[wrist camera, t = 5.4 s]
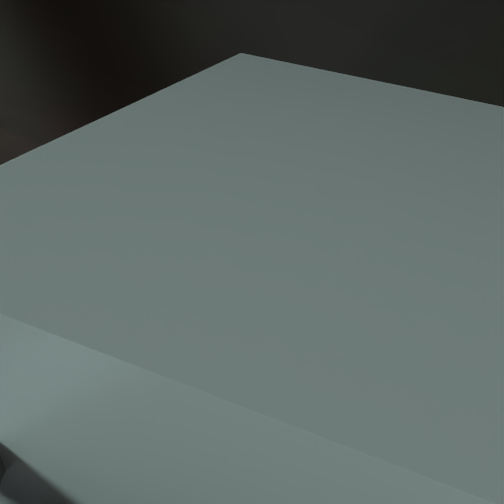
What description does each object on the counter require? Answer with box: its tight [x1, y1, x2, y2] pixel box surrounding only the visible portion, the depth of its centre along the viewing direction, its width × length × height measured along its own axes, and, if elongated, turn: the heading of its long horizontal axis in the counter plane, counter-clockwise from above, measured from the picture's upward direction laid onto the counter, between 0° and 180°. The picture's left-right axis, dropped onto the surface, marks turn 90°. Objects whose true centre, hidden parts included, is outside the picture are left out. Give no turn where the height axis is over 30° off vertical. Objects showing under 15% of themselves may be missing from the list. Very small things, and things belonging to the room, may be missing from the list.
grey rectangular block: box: [0, 53, 504, 504], centre depth 8 cm, size 7×7×9 cm
